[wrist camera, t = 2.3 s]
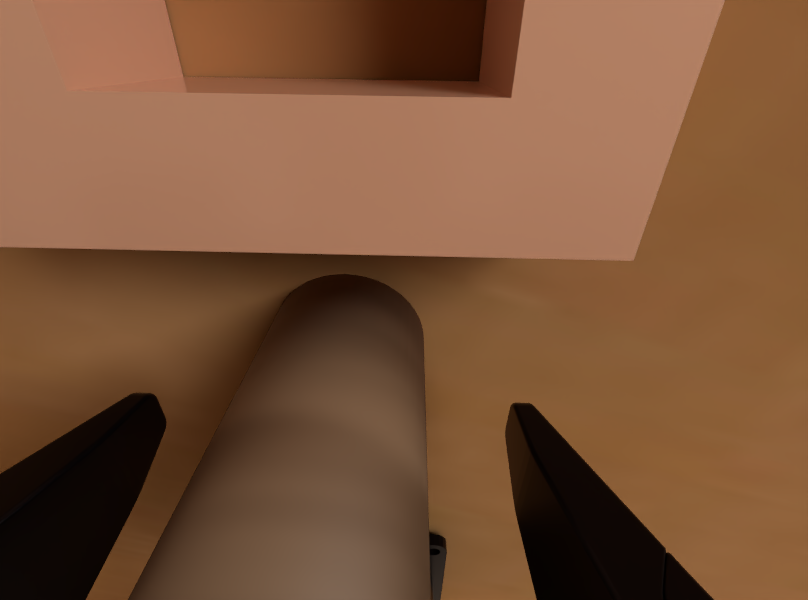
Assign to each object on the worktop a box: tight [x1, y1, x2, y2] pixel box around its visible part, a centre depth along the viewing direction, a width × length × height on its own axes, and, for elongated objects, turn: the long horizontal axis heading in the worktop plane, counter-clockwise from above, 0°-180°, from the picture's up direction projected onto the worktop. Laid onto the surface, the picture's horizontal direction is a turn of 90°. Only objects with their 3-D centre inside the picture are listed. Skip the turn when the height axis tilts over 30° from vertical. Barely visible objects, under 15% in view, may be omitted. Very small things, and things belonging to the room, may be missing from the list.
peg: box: [128, 274, 431, 600], centre depth 7 cm, size 4×4×9 cm
